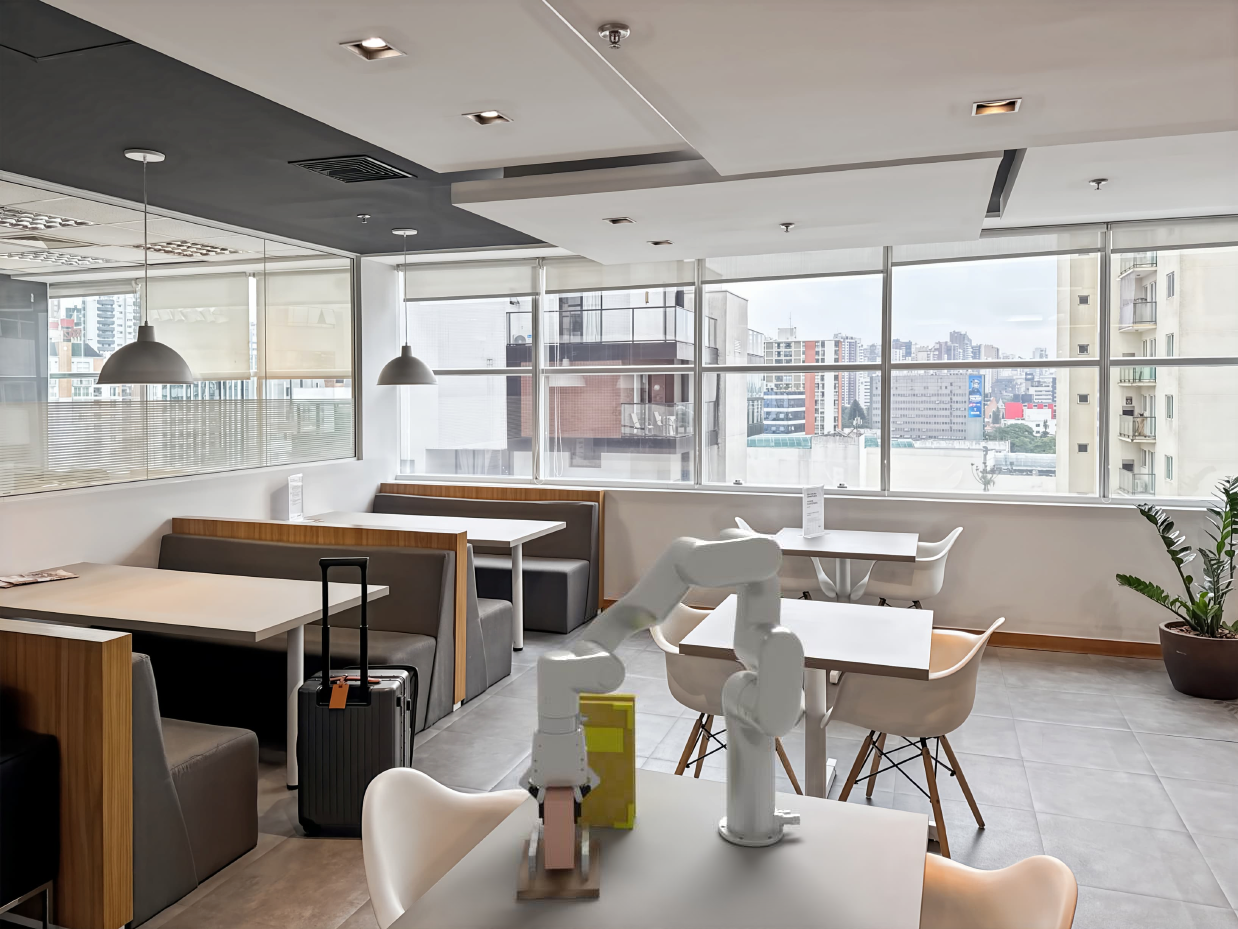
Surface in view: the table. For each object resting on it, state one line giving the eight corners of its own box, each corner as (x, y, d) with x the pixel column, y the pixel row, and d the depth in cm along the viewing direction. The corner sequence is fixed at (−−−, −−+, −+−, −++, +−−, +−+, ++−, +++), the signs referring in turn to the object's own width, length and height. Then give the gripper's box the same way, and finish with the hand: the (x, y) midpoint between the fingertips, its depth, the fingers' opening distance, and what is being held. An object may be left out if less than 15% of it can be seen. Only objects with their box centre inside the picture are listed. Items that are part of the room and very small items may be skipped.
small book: (575, 837, 160) (574, 774, 160) (573, 868, 149) (573, 800, 149) (548, 838, 160) (547, 775, 159) (545, 868, 149) (544, 801, 148)
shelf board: (598, 845, 164) (598, 837, 164) (599, 897, 146) (599, 888, 146) (525, 847, 164) (525, 839, 163) (516, 899, 146) (516, 890, 145)
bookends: (589, 845, 161) (588, 822, 161) (588, 879, 149) (588, 854, 149) (533, 846, 161) (533, 823, 160) (528, 881, 149) (528, 855, 148)
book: (636, 813, 177) (635, 694, 176) (633, 828, 171) (632, 704, 170) (555, 810, 179) (553, 692, 178) (549, 825, 172) (548, 702, 171)
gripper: (606, 713, 157) (607, 810, 158) (513, 715, 157) (514, 813, 158) (606, 728, 150) (607, 830, 151) (509, 730, 149) (510, 832, 150)
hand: (560, 820), depth 154 cm, fingers closed on small book, 4 cm apart
